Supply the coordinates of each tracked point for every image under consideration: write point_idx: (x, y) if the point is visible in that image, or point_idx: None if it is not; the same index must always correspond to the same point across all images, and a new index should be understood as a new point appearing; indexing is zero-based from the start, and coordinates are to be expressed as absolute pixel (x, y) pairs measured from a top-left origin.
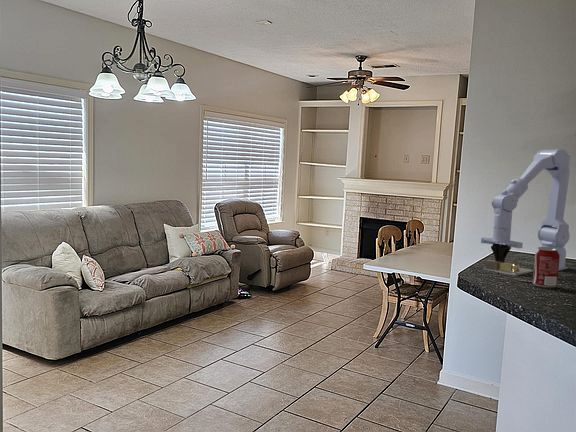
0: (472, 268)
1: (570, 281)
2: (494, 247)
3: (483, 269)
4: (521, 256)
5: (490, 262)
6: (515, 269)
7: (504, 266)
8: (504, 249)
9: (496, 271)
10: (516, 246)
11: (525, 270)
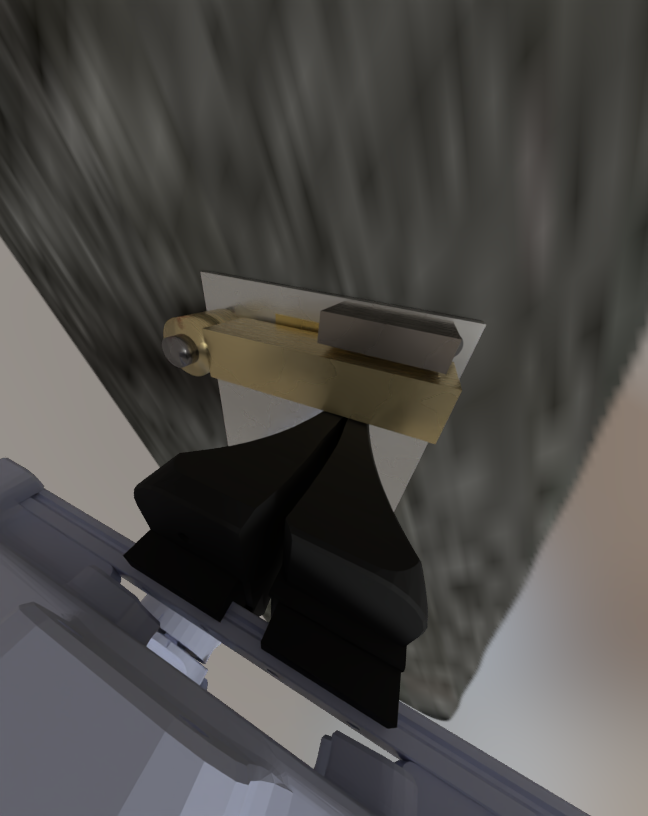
0: (629, 301)
1: (80, 350)
2: (326, 536)
3: (477, 321)
4: None
5: (402, 328)
6: (202, 312)
7: (276, 333)
8: (168, 463)
9: (346, 297)
10: (28, 509)
11: (239, 434)
